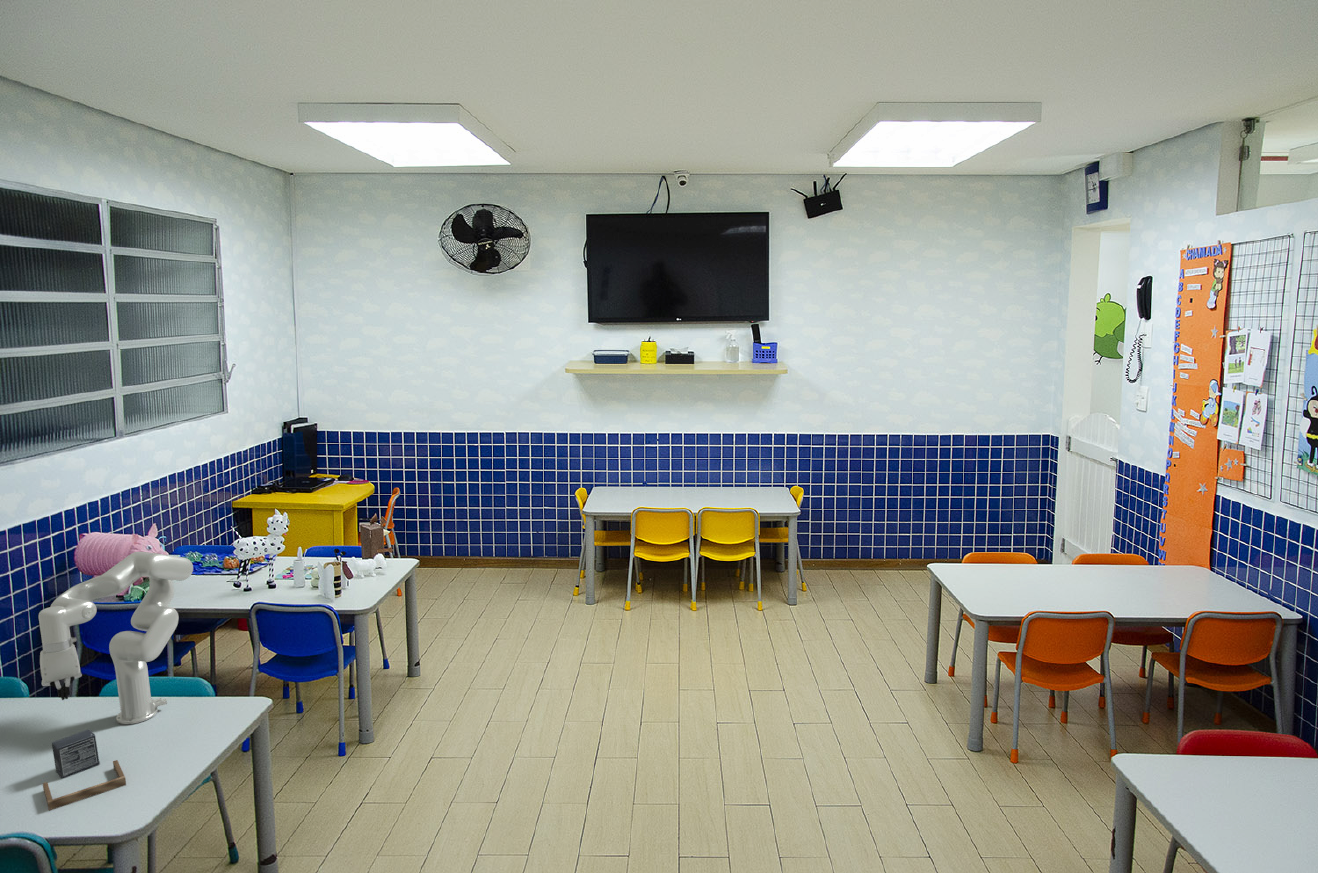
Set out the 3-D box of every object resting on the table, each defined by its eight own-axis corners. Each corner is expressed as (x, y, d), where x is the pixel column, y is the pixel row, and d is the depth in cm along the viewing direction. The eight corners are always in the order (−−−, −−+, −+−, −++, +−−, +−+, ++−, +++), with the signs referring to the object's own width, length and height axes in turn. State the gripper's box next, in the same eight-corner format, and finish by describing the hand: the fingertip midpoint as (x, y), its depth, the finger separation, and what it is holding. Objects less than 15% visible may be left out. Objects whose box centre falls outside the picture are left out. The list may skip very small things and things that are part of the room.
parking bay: (118, 767, 268) (117, 760, 268) (126, 785, 259) (125, 777, 258) (43, 791, 256) (42, 783, 255) (49, 810, 246) (48, 803, 246)
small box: (93, 757, 274) (89, 728, 272) (100, 764, 270) (96, 734, 268) (55, 772, 266) (50, 741, 264) (61, 779, 262) (57, 748, 260)
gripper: (83, 635, 279) (89, 687, 282) (27, 648, 269) (35, 701, 272) (86, 642, 273) (93, 694, 276) (29, 655, 264) (37, 710, 267)
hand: (64, 698), depth 274 cm, fingers closed
